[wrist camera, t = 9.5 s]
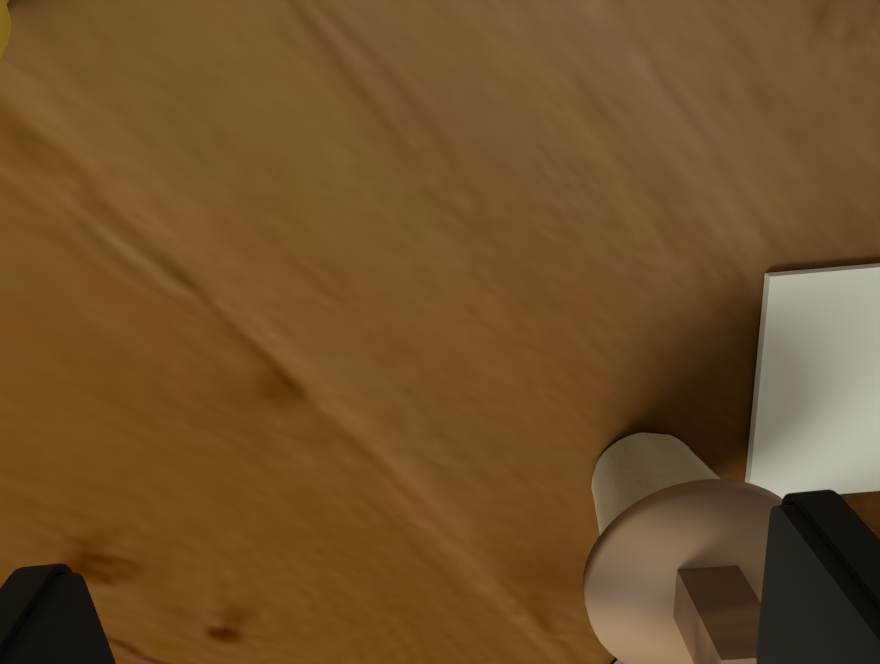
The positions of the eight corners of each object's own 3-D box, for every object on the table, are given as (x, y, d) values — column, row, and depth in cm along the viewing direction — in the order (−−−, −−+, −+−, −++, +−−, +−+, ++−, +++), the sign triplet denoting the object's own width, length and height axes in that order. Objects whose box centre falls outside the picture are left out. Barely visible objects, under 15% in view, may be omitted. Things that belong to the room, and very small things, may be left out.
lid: (584, 487, 32) (620, 584, 27) (828, 470, 32) (917, 564, 27) (580, 670, 36) (611, 788, 31) (797, 655, 37) (868, 770, 31)
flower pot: (756, 444, 42) (836, 540, 34) (665, 561, 45) (719, 675, 37) (620, 379, 40) (671, 465, 32) (535, 506, 43) (562, 613, 35)
